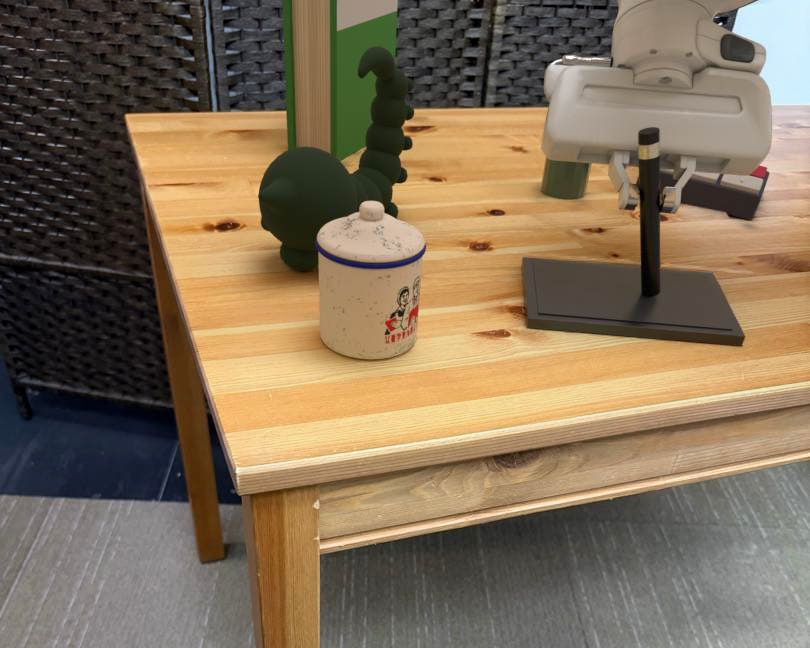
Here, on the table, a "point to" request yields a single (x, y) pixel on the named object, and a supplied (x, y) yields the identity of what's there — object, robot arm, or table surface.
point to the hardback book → (332, 70)
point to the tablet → (626, 302)
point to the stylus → (649, 209)
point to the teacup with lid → (369, 283)
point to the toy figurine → (338, 171)
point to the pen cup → (565, 179)
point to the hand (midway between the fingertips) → (648, 209)
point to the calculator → (721, 191)
